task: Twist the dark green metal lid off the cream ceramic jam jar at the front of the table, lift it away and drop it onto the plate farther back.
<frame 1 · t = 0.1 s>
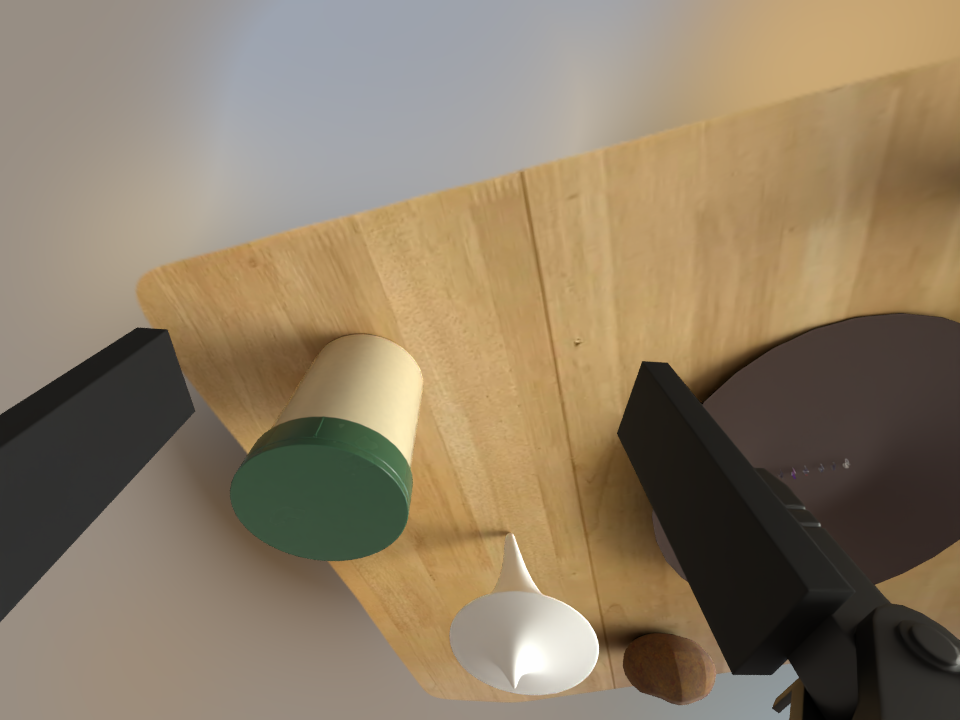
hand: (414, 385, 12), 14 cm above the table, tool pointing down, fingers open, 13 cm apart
jar lid: (324, 502, 19), point 10 cm above the table, screwed on, not yet turned
plate: (809, 465, 34), on the table
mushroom: (510, 532, 37), on the table
potato: (658, 634, 48), on the table
jam jar: (368, 382, 28), on the table
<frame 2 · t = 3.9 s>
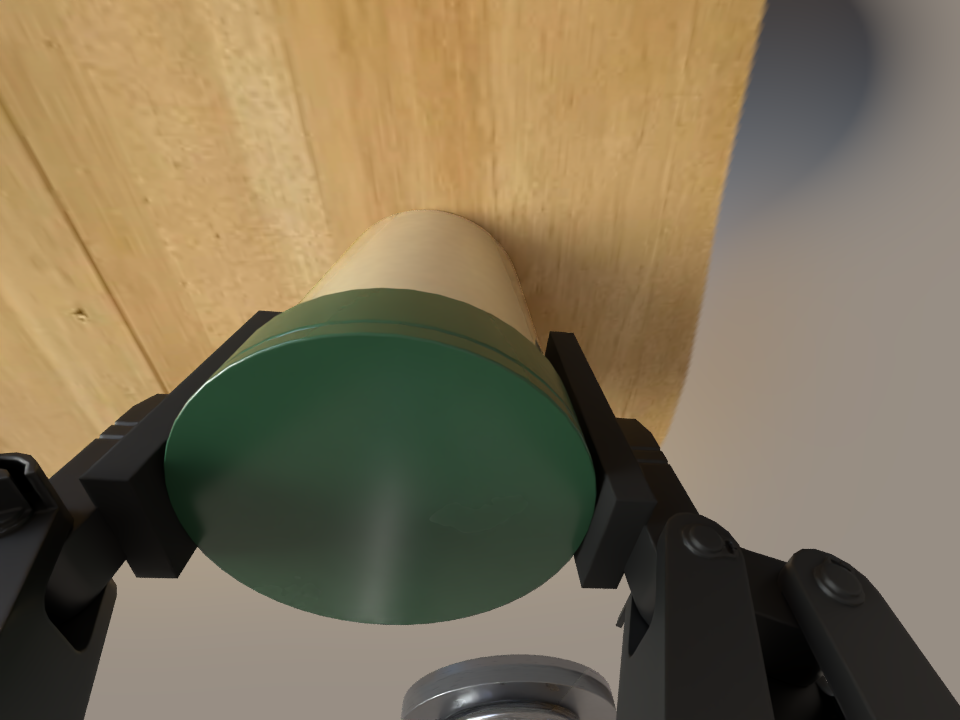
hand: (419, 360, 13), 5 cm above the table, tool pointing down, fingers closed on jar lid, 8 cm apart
jar lid: (392, 501, 8), point 10 cm above the table, screwed on, not yet turned, touching gripper
jam jar: (430, 304, 17), on the table
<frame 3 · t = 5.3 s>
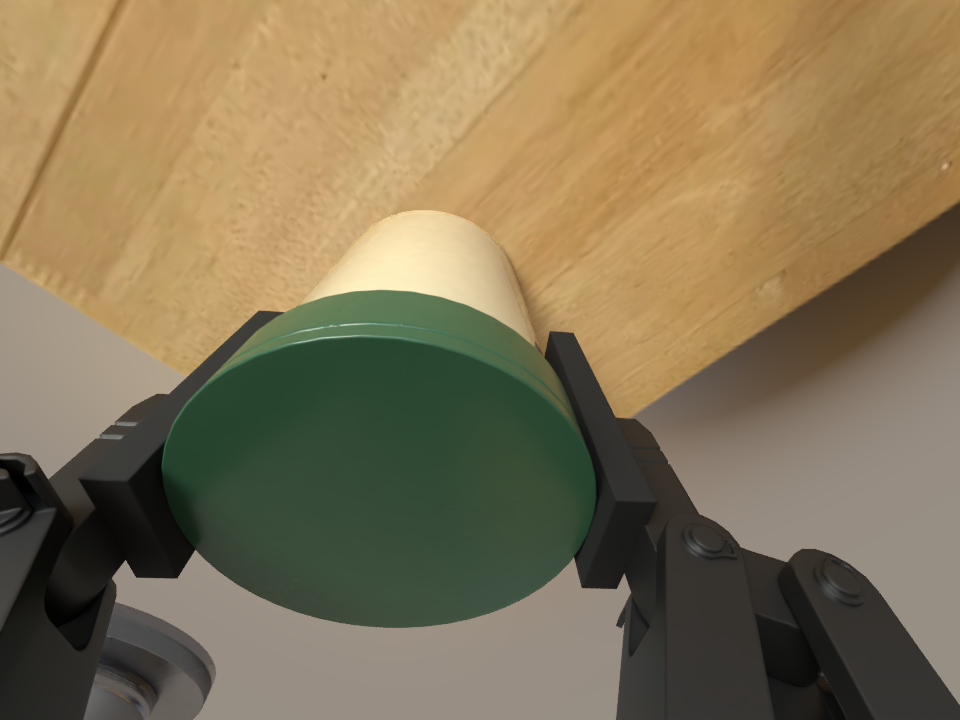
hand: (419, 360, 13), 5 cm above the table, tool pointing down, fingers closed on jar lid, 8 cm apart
jar lid: (392, 503, 8), point 10 cm above the table, turned 50° so far, risen 0.1 cm, still on its thread, touching gripper
jam jar: (429, 303, 17), on the table
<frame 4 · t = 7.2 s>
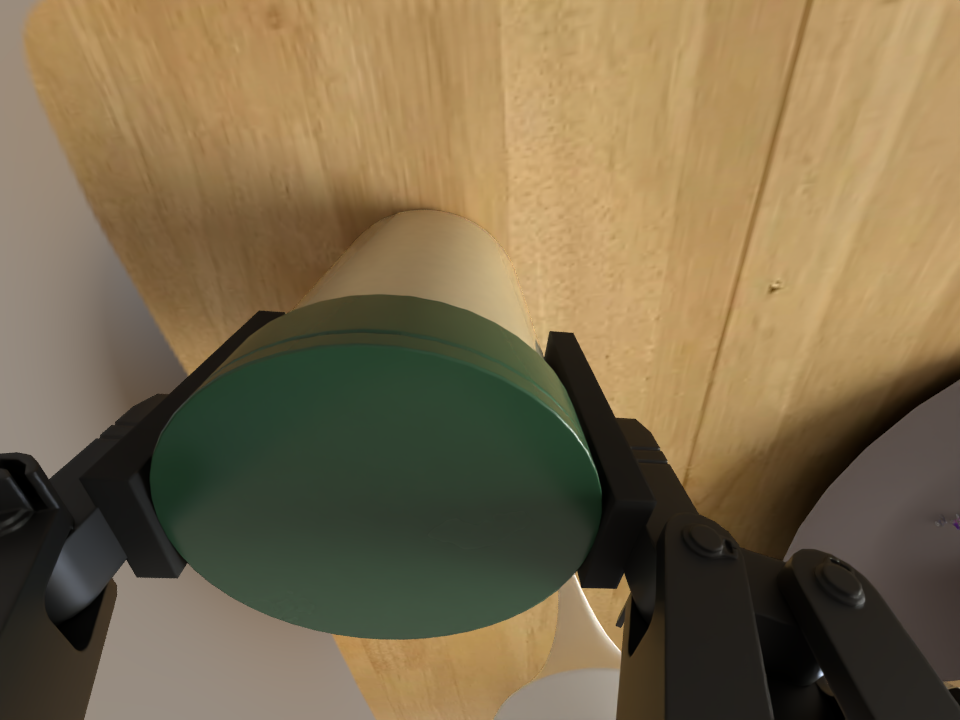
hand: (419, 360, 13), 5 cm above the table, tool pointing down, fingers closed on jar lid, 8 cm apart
jar lid: (389, 515, 8), point 10 cm above the table, off its thread, touching gripper
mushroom: (563, 560, 27), on the table
smartwatch: (934, 681, 39), on the table
jam jar: (430, 304, 17), on the table
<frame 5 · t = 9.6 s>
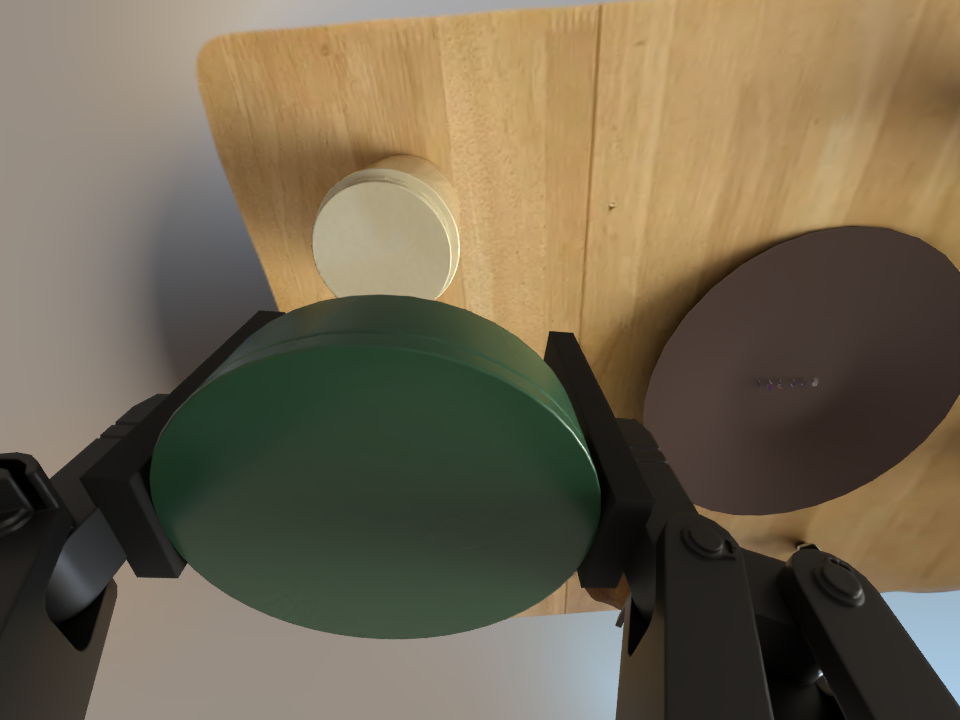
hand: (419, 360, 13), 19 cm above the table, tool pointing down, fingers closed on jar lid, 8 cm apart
jar lid: (389, 515, 8), point 25 cm above the table, off its thread, touching gripper
plate: (783, 380, 37), on the table
smartwatch: (800, 544, 50), on the table
potato: (616, 555, 50), on the table
jam jar: (407, 214, 29), on the table
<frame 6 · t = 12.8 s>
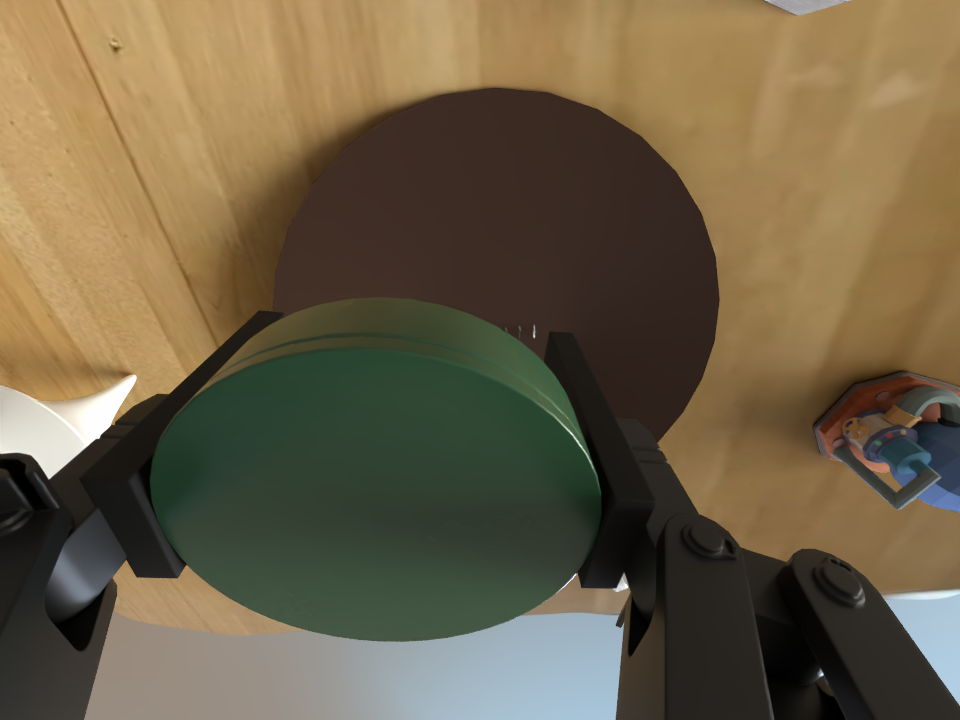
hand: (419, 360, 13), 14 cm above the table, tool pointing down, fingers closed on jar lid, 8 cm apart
jar lid: (389, 518, 8), point 20 cm above the table, off its thread, touching gripper
plate: (495, 330, 28), on the table
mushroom: (137, 376, 29), on the table
smartwatch: (605, 546, 41), on the table
model: (886, 421, 34), on the table
when the fingers open (4 cm above the table, at t = 15.4 s): jar lid drops 8 cm, resting on plate.
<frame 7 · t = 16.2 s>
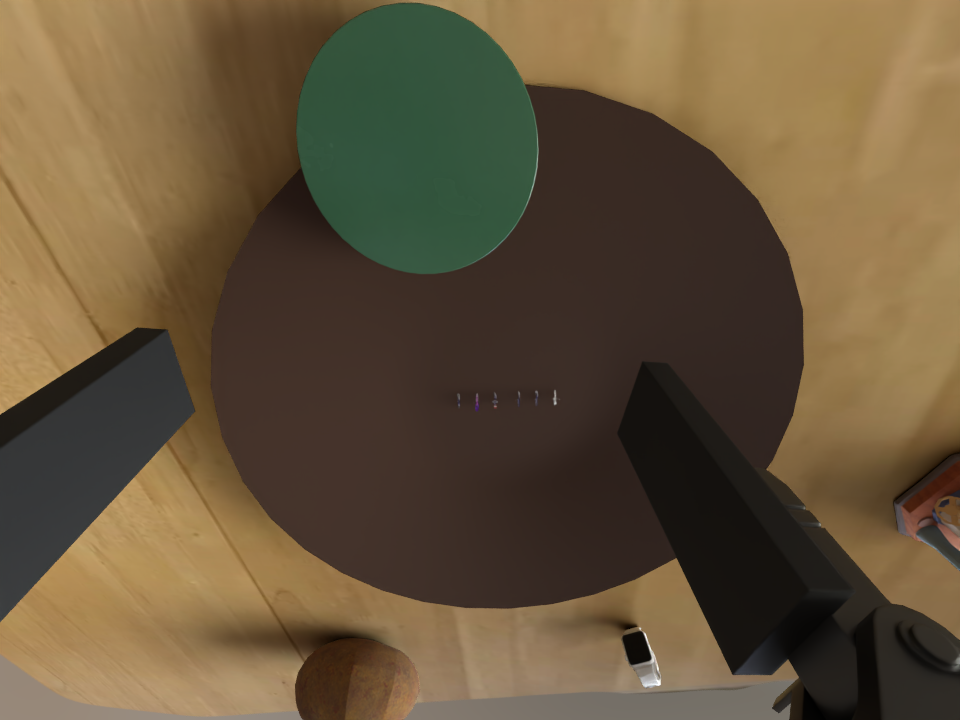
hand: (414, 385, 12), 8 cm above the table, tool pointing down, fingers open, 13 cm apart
jar lid: (420, 158, 14), point 2 cm above the table, off its thread, touching plate
plate: (505, 395, 22), on the table, touching jar lid
smartwatch: (631, 627, 35), on the table
potato: (366, 640, 35), on the table
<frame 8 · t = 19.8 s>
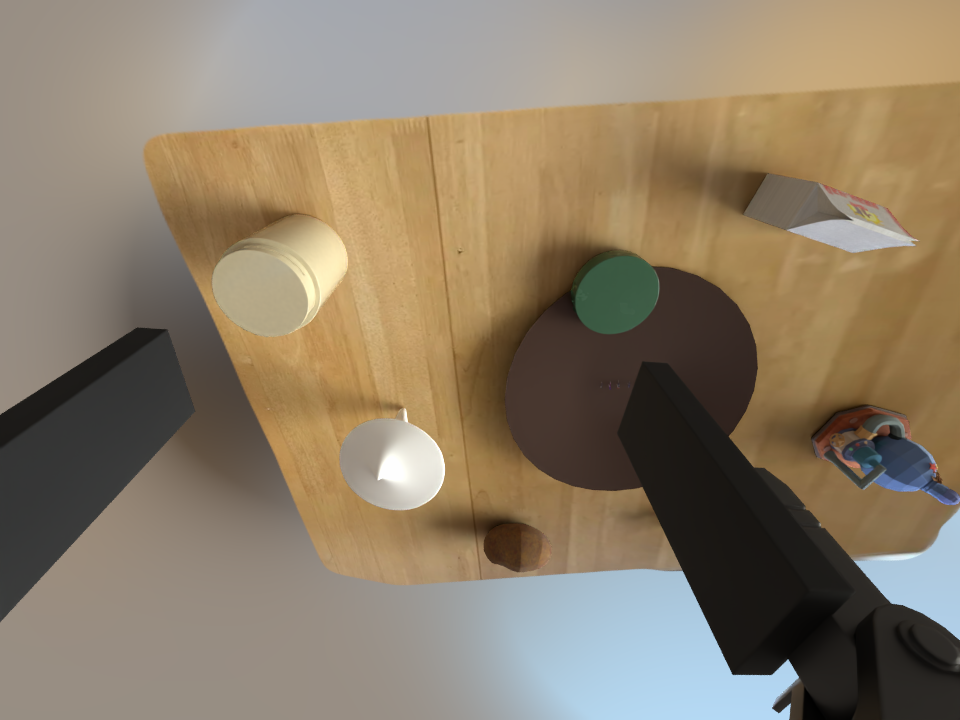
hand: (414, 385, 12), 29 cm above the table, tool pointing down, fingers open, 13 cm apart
jar lid: (615, 295, 39), point 2 cm above the table, off its thread, touching plate
plate: (622, 382, 47), on the table, touching jar lid
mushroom: (403, 408, 48), on the table
tea bag: (784, 204, 37), on the table
potato: (516, 527, 60), on the table
jam jar: (307, 255, 38), on the table
model: (858, 435, 53), on the table
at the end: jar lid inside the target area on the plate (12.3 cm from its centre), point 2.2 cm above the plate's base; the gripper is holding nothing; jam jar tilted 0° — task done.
